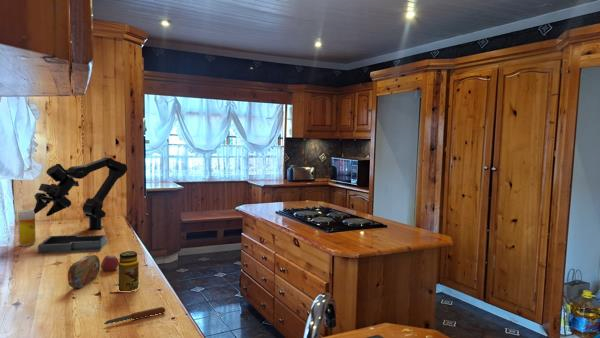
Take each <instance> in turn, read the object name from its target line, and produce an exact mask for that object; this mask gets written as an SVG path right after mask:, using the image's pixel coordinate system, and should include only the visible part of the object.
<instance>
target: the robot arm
mask: <svg viewBox="0 0 600 338" xmlns="http://www.w3.org/2000/svg"><path fill="white" fill-rule="evenodd" d="M105 167H106V168H107V169H108V175H107V177H106V178H105V180H104V181H103V183H102V185H101V186H100V187H99V189H98V190H97V192H96V193H95V194H94V196H93V197H91V198H90V197H89V198H87V199H86V200H85V202H84V203H83V204H82V205H83V206H82V212H83V214H84V216H85V217H86V218H88V228H87V231H98V230H102V229H103V228H104V225H102V223H103V222H102V221H103V220H102V219H103V218H105V217H106V214H107V213H106V211H104V209H103V206H104V200H105V199H106V198H107V196H108V195H109V192H110V191H111V189H113V187H114V185H115V184H116V182H117V180H119V179H120V178H122V177H123V176H124V175H126V173H127V172H128V166H127V165H126V163H122V162H120V161H118V160H115V159H114V158H112V157H106V156H105V157H102V158H100V159H98V160H95V161H92V162H89V163H87V164H84V165H83V164H80V165H74V166H70V167H69V168H68V169H66V168H64V167H63V165H61V164H60V163H56V164H55V165H52V166H50V167H49V168H47V170H46V171H45V172H46V174H47V175H48V176H49V177H50V178H51V180H53V181H54V182H55V183H56V182H57V184H55V183H50V184H47V183H40V186H39V188H38V191H41V192H36V193H35V194H34V195H33V196H34V198H35V201H36V202H35V205H34V208H33V211H34V213H35V215H36V214H38V213H39V212H40V211H42V210H44V209H45V208H47V207H48V206H49V205H48V204H50V203H51V202H52V206H50V208H49V210H48V211H47V213H46V214H45V216H46V217H49V216H52V215H54V214H55V213H58V212H60V211H62V210H64V209H67V208H70V206H71V205H72V200H70V199H69V198H67V197H66V196H69V195H70V193H69V192H70V191H71V189H72V188H73V187H79V186H80V185H79V181H78V179H79V180H80V179H84V178H86V177H87V176H88V175H89V174H90V173H92V172H95V171H97V170H100V169H102V168H105ZM75 179H77V180H75Z"/></svg>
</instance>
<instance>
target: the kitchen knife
mask: <svg viewBox="0 0 600 338" xmlns="http://www.w3.org/2000/svg"><path fill="white" fill-rule="evenodd" d="M163 312H164V313H166V308H165V307H163V306H161V307H155V308H150V309H146V310H141V311H137V312H132V313H131V314H127V315H124V316H119V317H116V318H113V319H108V320H106V321H105V322H103V323H104V324H103V325H109V323H110V324H114V323H113V322H115V323H120V322H119V321H121V322H124V321H123V320H126V321H128V320H127V319H130V320H131V318H132V319H136V318H140V319H142V318H141V317H145V316H150V315H155V314H159V313H163ZM164 313H163V314H164ZM145 318H146V317H145Z"/></svg>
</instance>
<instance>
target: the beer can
mask: <svg viewBox="0 0 600 338" xmlns="http://www.w3.org/2000/svg"><path fill="white" fill-rule="evenodd" d="M17 228H18V231H17V232H18V234H17V235H18V245H20V246H21V247H30V246H34V245H35V243H37V242H36V241H37V240H36V214H35V213H34V209H33V210H32V209H23V210H19V211H18V214H17Z"/></svg>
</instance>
